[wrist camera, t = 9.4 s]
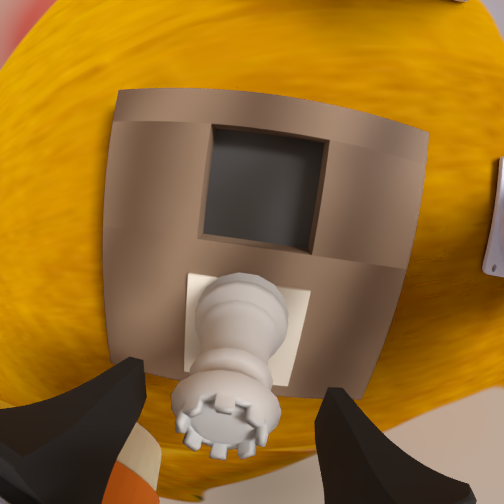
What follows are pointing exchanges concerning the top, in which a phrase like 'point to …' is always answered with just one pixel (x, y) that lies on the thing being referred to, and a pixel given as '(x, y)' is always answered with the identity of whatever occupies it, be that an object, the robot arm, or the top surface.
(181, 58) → the top surface
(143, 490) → the reusable coffee cup
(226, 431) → the rook chess piece
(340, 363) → the hole board
